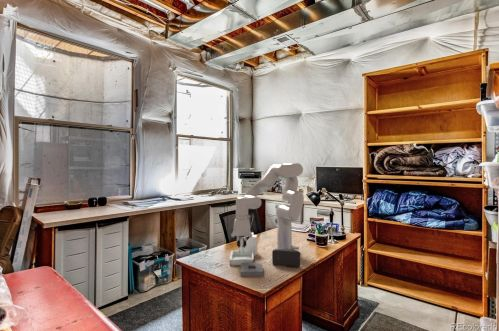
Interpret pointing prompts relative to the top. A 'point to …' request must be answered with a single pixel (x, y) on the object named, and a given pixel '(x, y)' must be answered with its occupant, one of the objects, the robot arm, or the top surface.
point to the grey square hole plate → (251, 269)
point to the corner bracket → (251, 244)
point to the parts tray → (241, 257)
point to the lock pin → (241, 245)
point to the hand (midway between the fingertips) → (241, 246)
